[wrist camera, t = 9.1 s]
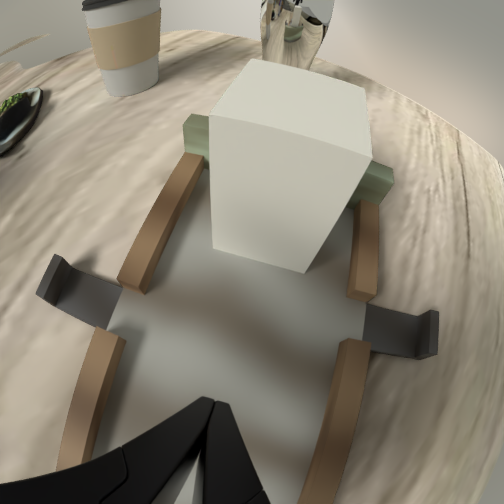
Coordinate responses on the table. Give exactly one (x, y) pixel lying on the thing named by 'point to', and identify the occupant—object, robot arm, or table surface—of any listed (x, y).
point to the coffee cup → (125, 43)
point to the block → (284, 161)
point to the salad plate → (18, 117)
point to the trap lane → (235, 335)
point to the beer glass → (293, 30)
